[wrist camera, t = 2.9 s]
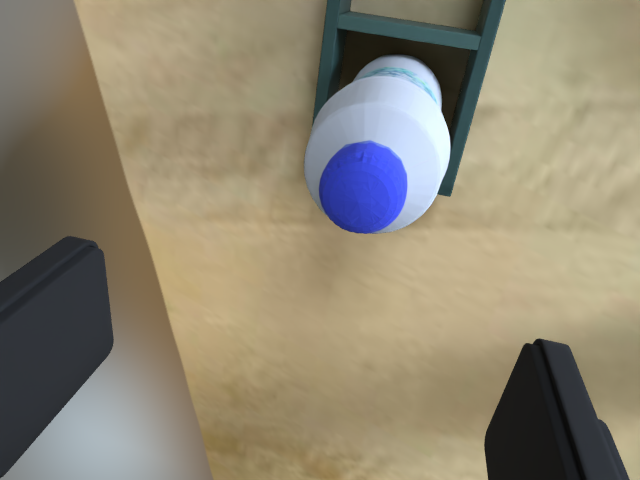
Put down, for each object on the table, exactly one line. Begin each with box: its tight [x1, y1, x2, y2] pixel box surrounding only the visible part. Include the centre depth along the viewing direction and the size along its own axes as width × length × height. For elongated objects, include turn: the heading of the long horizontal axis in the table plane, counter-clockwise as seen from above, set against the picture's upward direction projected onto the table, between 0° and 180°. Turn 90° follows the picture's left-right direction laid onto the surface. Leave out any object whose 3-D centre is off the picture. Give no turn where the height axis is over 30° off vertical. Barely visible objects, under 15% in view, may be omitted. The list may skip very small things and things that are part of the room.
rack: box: [312, 0, 506, 197], centre depth 31 cm, size 10×19×4 cm, turn 173°
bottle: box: [304, 54, 450, 234], centre depth 26 cm, size 7×7×20 cm
